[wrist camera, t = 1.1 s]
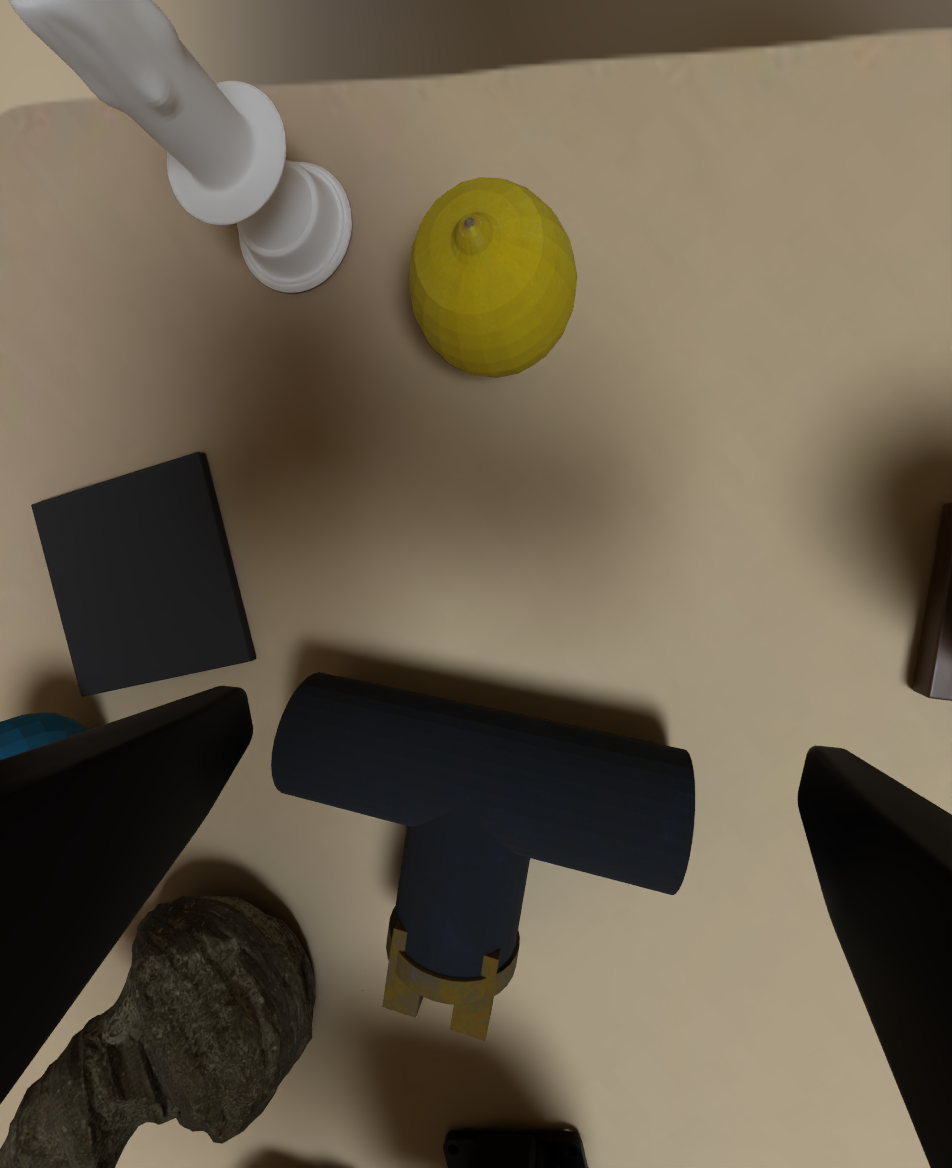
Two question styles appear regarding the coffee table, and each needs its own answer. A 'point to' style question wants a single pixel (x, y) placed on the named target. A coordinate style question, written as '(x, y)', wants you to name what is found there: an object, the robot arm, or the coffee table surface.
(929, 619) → the peg stand
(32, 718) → the ornament
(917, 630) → the coffee table surface
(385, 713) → the pipe connector
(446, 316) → the fruit
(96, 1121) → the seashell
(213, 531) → the mat
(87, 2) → the candle
